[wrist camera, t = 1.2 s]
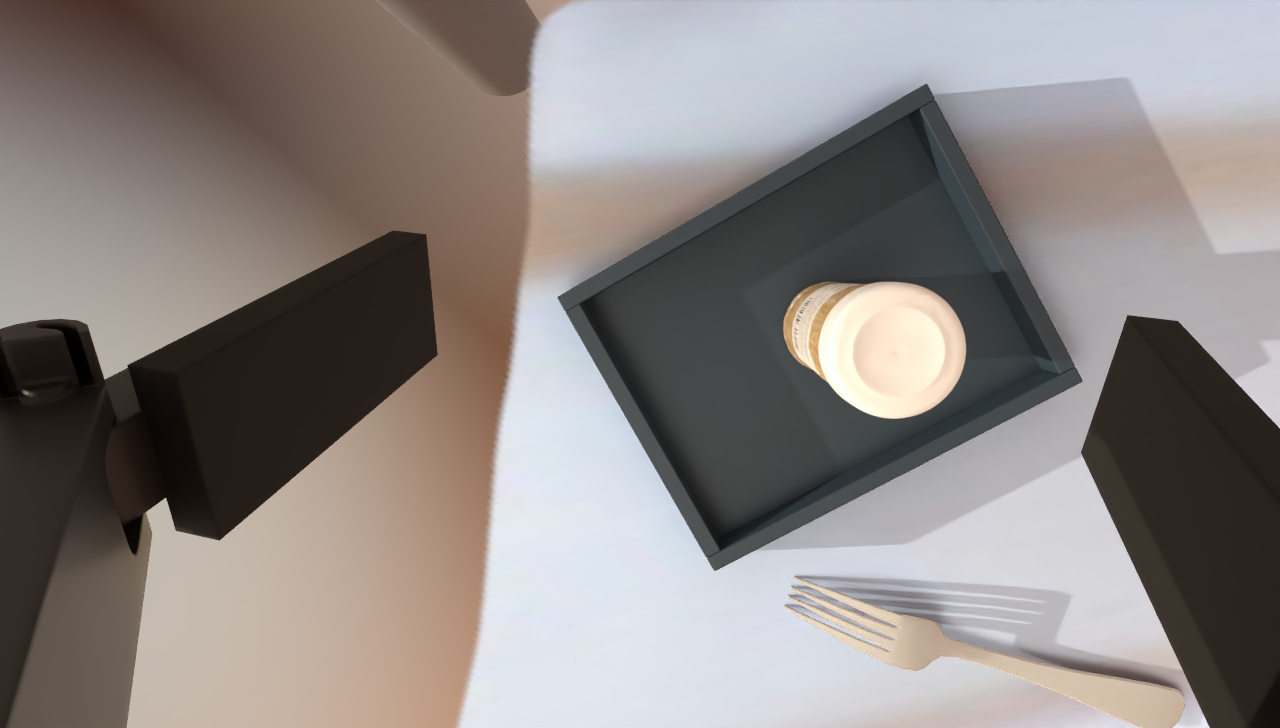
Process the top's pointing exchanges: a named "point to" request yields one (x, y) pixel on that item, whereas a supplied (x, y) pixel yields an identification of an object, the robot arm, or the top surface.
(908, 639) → the fork
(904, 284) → the sprinkles bottle
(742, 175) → the top surface
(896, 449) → the tray
